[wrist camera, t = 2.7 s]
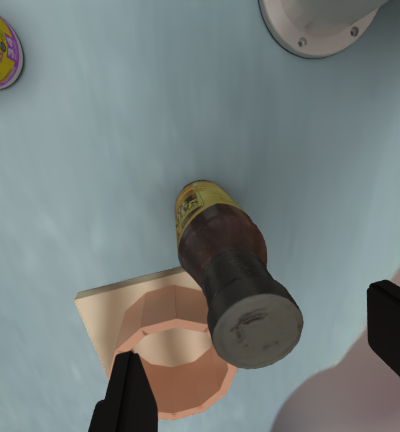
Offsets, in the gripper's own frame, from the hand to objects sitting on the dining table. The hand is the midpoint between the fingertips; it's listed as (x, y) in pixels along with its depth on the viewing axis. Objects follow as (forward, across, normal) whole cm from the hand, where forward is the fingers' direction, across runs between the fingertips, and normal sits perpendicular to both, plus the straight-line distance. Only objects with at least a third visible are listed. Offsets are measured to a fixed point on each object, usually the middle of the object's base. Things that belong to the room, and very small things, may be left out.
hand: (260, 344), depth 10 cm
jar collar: (+19, +6, +14) cm, 25 cm away
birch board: (+21, +6, +14) cm, 26 cm away
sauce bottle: (+21, -1, -1) cm, 21 cm away
